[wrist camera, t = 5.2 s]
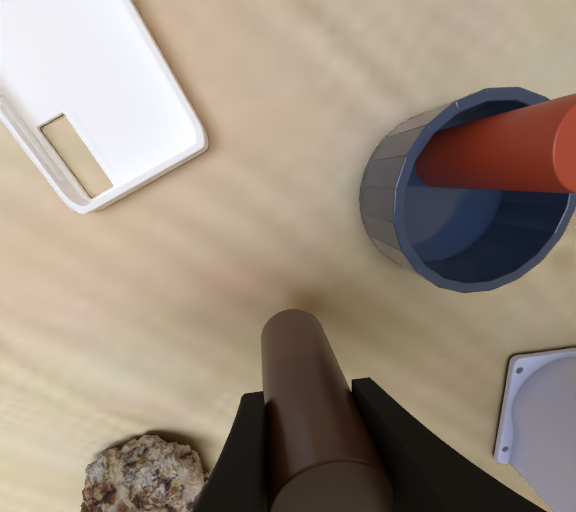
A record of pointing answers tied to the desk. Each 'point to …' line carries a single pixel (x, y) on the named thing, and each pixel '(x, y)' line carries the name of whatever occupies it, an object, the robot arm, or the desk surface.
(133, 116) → the phone case
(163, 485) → the mineral rock
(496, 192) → the blue cup
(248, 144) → the desk surface
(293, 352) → the walnut peg
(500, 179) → the red peg
